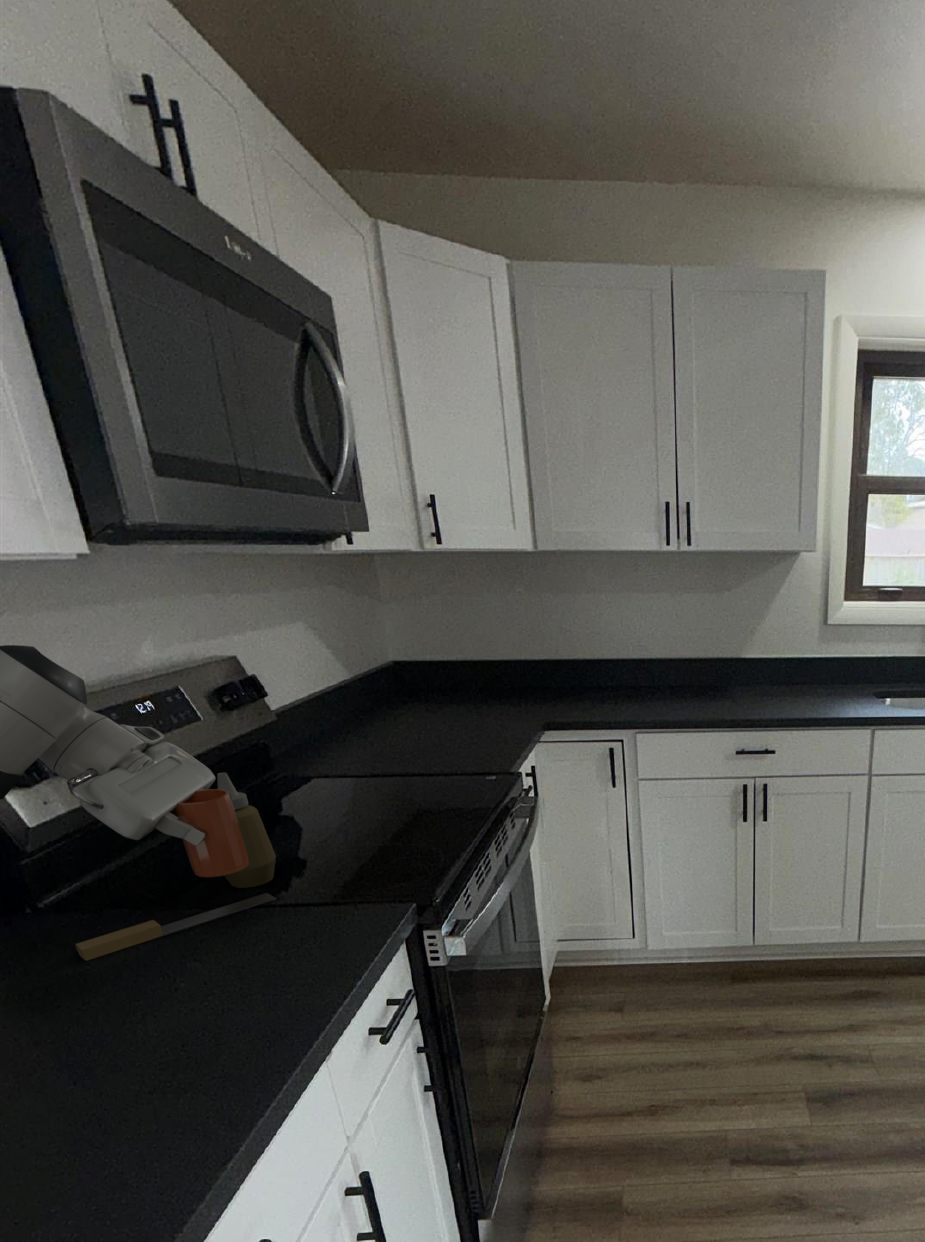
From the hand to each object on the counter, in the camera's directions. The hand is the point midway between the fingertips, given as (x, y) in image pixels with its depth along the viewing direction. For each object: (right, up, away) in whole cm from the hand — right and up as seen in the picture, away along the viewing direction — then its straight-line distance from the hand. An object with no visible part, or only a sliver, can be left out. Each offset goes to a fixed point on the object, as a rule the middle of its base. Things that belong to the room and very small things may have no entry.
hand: (215, 829), depth 104 cm
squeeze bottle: (-10, -7, +23) cm, 26 cm away
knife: (-10, -13, +9) cm, 19 cm away
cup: (-1, -5, +2) cm, 5 cm away
